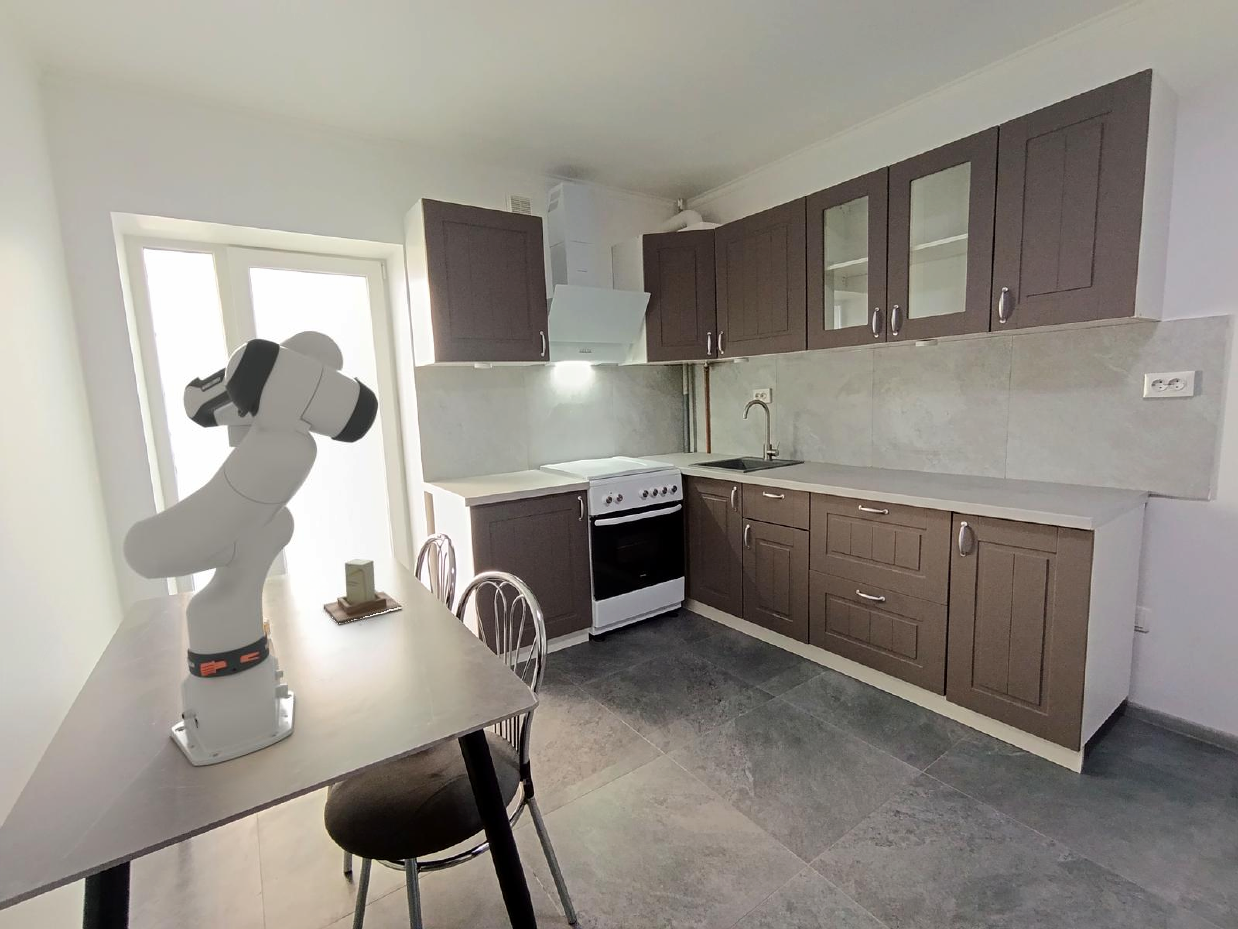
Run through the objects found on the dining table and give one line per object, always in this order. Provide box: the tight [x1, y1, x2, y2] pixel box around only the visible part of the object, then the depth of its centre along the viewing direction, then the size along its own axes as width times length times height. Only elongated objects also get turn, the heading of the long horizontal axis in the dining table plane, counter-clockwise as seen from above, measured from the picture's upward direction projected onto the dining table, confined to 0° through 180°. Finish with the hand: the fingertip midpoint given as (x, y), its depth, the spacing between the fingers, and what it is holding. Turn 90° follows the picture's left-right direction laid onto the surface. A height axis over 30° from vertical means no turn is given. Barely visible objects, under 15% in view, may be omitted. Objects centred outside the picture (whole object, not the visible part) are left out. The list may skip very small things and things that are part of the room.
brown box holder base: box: [323, 589, 402, 625], centre depth 157 cm, size 16×16×3 cm
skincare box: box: [344, 558, 376, 605], centre depth 156 cm, size 6×4×12 cm
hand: (258, 498), depth 130 cm, fingers open, 8 cm apart
